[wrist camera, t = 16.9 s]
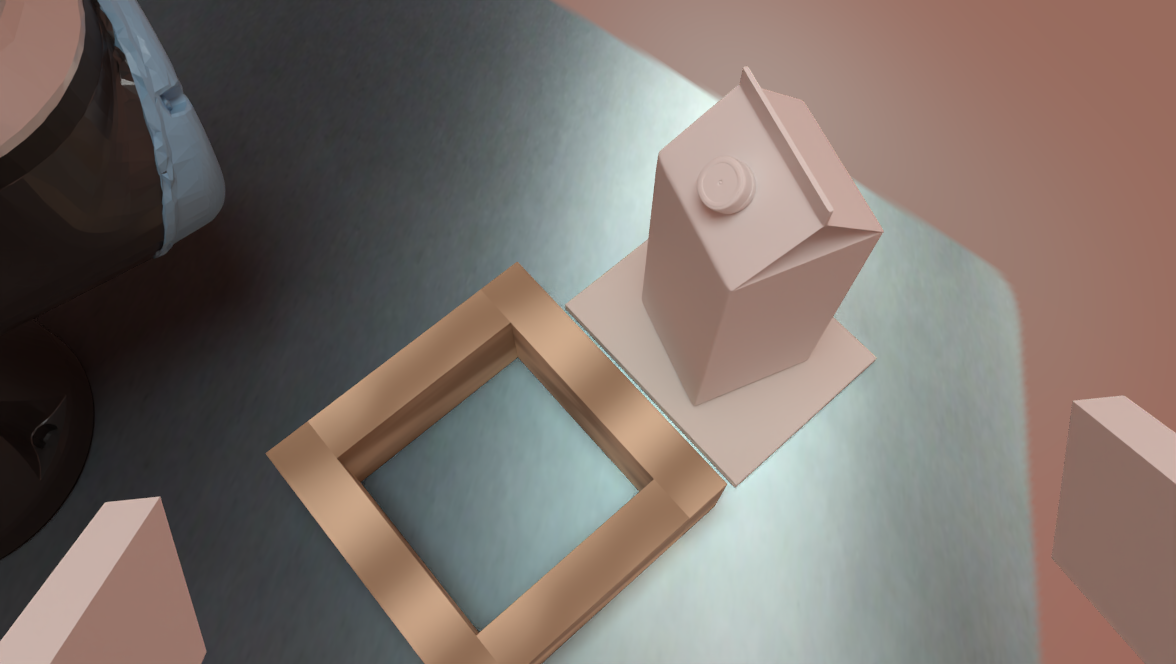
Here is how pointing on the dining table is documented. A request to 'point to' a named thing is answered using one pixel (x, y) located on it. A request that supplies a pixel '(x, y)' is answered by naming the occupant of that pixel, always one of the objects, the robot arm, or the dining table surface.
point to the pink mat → (735, 419)
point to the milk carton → (750, 241)
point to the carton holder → (433, 388)
